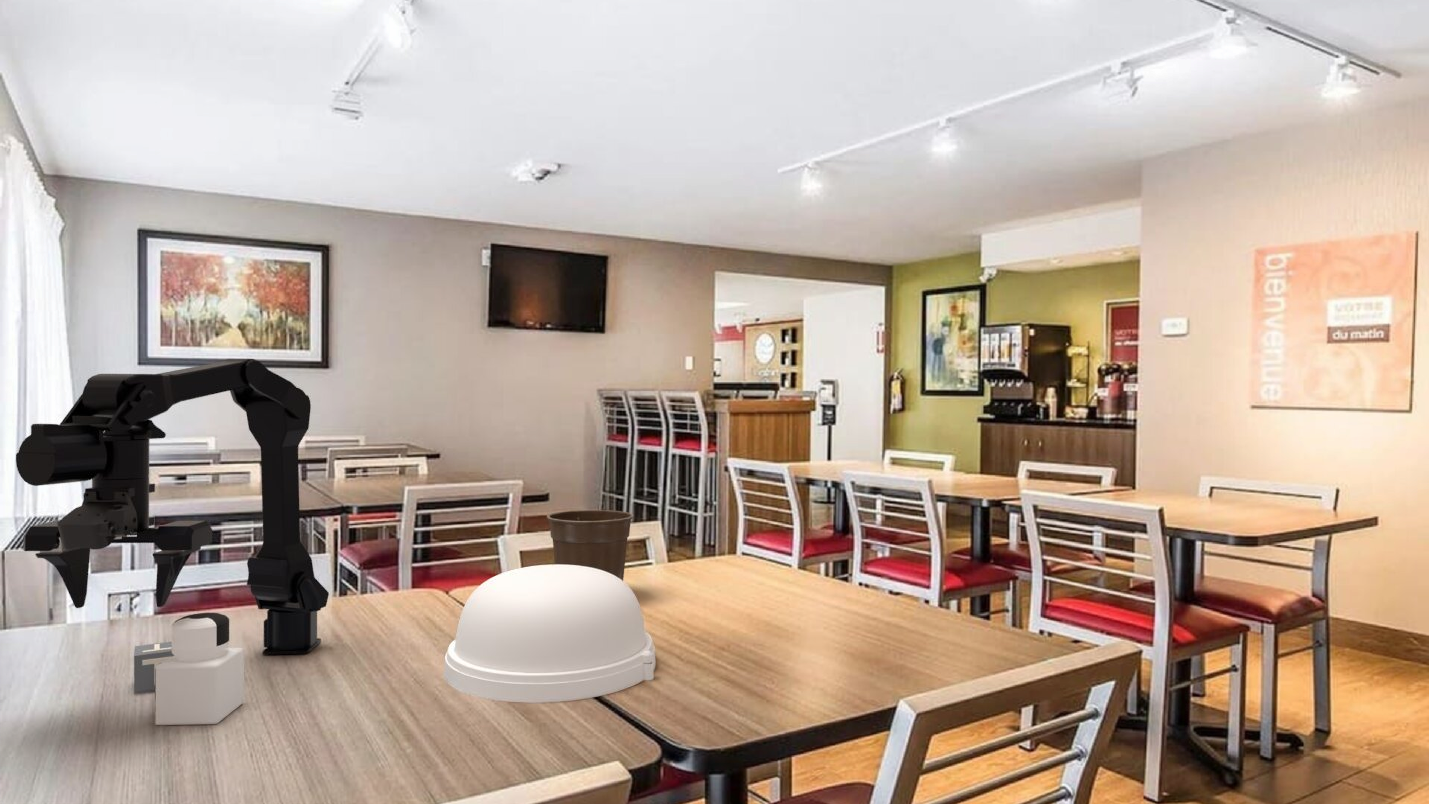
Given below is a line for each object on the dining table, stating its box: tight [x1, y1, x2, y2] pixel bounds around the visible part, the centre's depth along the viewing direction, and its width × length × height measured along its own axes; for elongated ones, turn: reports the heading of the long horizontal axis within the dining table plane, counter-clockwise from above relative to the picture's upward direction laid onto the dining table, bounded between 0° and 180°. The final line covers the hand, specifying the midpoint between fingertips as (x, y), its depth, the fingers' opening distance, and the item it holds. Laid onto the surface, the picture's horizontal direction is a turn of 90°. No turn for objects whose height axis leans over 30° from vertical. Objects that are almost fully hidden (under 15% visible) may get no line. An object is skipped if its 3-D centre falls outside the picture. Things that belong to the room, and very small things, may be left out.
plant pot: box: [546, 509, 634, 582], centre depth 166 cm, size 16×16×16 cm
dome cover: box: [443, 564, 656, 704], centre depth 126 cm, size 32×30×14 cm
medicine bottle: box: [154, 612, 245, 726], centre depth 106 cm, size 7×7×12 cm
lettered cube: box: [133, 641, 174, 695], centre depth 116 cm, size 5×5×5 cm
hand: (120, 606), depth 105 cm, fingers open, 9 cm apart
